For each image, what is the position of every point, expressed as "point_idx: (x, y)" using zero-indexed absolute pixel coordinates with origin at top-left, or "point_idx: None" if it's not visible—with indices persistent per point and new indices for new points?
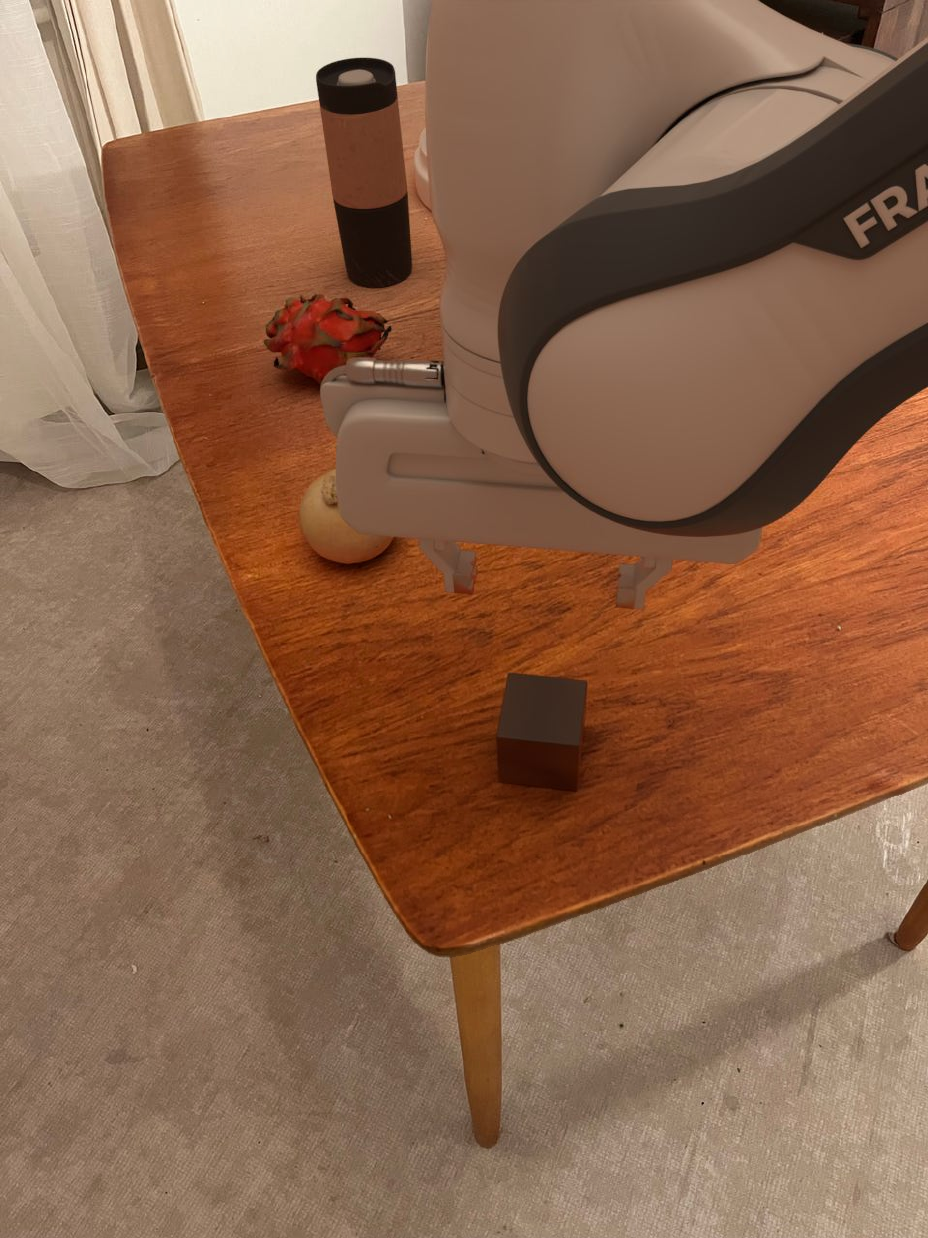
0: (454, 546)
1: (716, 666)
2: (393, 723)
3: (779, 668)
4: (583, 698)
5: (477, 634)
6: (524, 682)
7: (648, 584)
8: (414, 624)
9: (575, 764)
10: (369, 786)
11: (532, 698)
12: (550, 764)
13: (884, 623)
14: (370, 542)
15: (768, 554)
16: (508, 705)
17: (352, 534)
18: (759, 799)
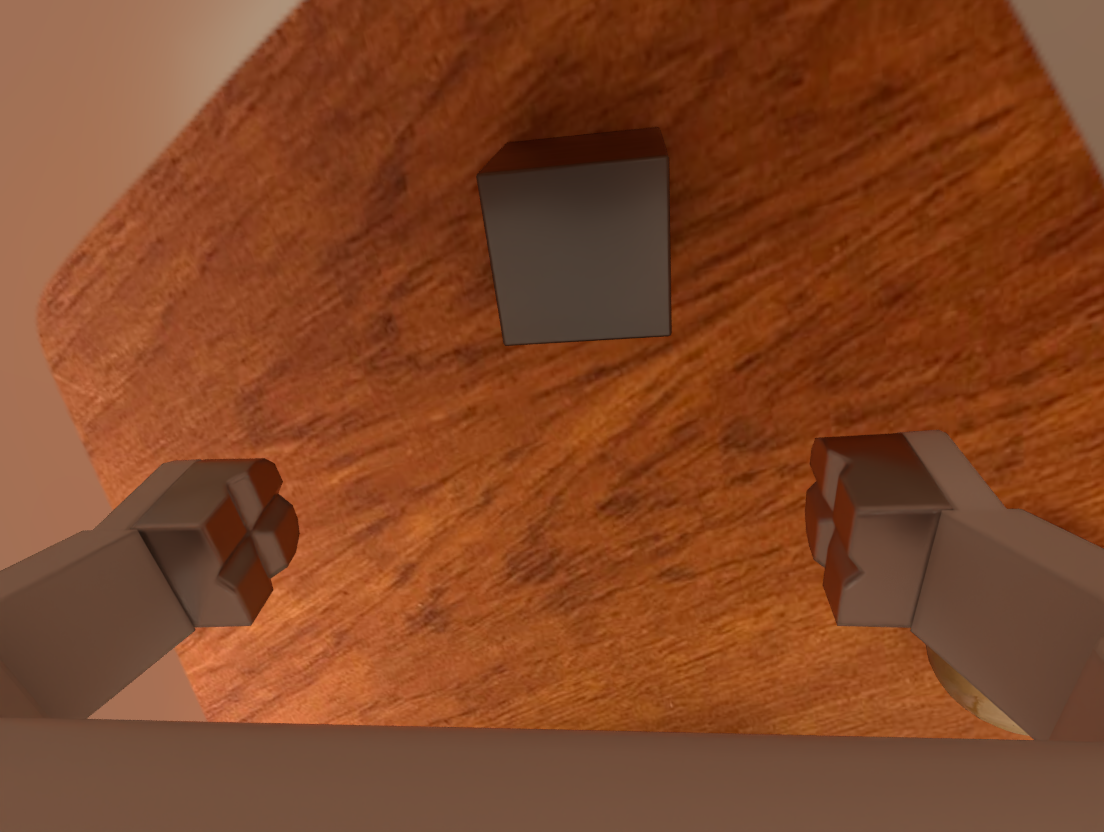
0: (960, 646)
1: (354, 440)
2: (897, 221)
3: (267, 451)
4: (500, 301)
5: (750, 441)
6: (631, 316)
7: (57, 552)
8: None
9: (495, 158)
10: (941, 44)
11: (605, 279)
12: (548, 152)
13: None
14: None
15: (344, 622)
16: (655, 249)
17: None
18: (208, 205)
